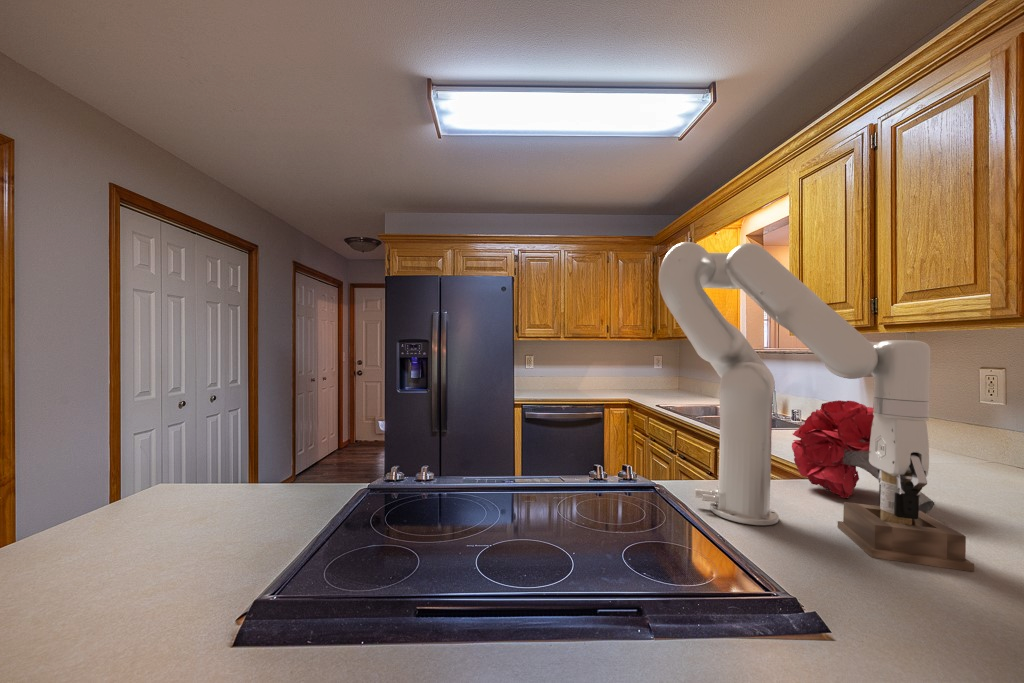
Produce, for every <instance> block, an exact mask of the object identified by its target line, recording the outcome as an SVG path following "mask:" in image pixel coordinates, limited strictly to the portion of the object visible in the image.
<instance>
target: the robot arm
mask: <svg viewBox="0 0 1024 683" xmlns="http://www.w3.org/2000/svg"><path fill="white" fill-rule="evenodd" d="M658 286H659V287H658V288H659V291H660V294H661V297H662V299H663V301H664V303H665V305H666V307H667V309H668V310H669V312H670V313H671V315H672V316H673V318H674V319H675V321H676V322H677V324H678V325H679V327H680V328H681V330H682V332H683V334H684V335H685V337H686V338H687V339H688V341H689V342H690V344H691V345H692V347H693V348H694V350H695V352H696V354H697V356H699V357H700V358H701V359H703V361H706V362H708V363H709V364H710V365H711V367H712V368H713V369H714V371H715V372H716V373H717V375H718V377H719V378H720V382H719V388H718V390H719V392H718V395H719V455H718V456H719V457H718V459H719V460H718V461H719V462H718V485H714V488H710V490H707V489H703V488H694V496H693V497H694V498H696V499H701V501H703V502H710V503H709V509H710V511H711V512H712V514H714V515H715V516H718V517H720V518H723V519H725V520H728V521H732V522H736V523H740V524H745V525H752V526H772V525H775V524H777V523H778V522H779V514H778V512H776V511H775V510H774V509H772V508H771V481H772V480H771V475H772V472H771V471H772V434H773V433H772V431H773V430H772V425H773V394H774V391H775V387H776V384H775V378H774V375H773V373H772V372H771V370H770V369H769V367H768V366H767V365H766V363H765V361H763V360H762V358H761V357H760V355H759V354H758V353H757V351H756V350H755V349H754V347H753V346H752V344H750V342H749V340H748V339H747V338H746V337H745V335H744V334H743V333H742V331H740V329H739V328H738V327H737V326H735V325H733V324H732V323H730V322H729V321H728V320H727V319H726V318H725V316H724V315H723V314H722V313H721V312H720V310H719V309H718V307H717V306H716V305H715V303H714V302H713V300H712V299H711V298H710V296H709V295H708V294H707V292H706V291H705V289H725V290H742V291H743V292H744V293H745V294H746V295H747V296H748V297H750V299H752V300H753V301H754V303H755V304H756V305H757V306H759V308H760V309H762V310H763V312H765V313H766V315H768V317H770V318H771V319H772V321H774V322H775V323H777V324H778V325H779V326H781V327H783V328H784V329H786V330H787V331H789V332H790V333H791V334H792V335H793V336H794V337H795V338H797V339H798V340H799V341H800V342H801V343H802V344H803V345H804V346H805V347H806V348H808V350H809V351H811V352H812V354H813V355H815V356H816V357H817V358H818V359H819V360H820V361H821V362H822V363H823V364H824V366H825V367H826V369H827V370H828V371H829V372H830V373H831V374H832V375H835V376H837V377H840V378H842V379H849V380H856V379H860V378H867V377H868V378H872V377H873V400H872V408H873V415H874V418H873V423H872V428H871V436H870V447H869V462H870V464H871V465H872V466H874V467H875V468H877V469H878V473H879V479H877V481H878V483H879V485H878V486H879V487H878V489H879V490H878V491H879V492H878V506H880V498H881V474H882V473H881V471H883V472H886V473H888V474H890V475H892V476H896V480H897V490H898V493H895V502H894V515H895V516H897V517H901V518H909V519H918V514H919V497H920V495H921V492H922V490H923V488H924V487H925V486H927V485H928V478H927V477H928V476H929V469H930V445H929V444H930V443H929V433H928V432H929V431H928V425H927V421H928V422H929V421H930V395H931V394H930V392H931V390H930V388H931V385H930V384H931V383H930V382H931V347H930V345H929V344H928V343H927V342H924V341H921V340H911V339H909V340H908V339H902V340H901V339H889V340H888V339H887V340H882V341H879V342H878V341H869V340H868V339H867V338H866V337H865V336H864V335H863V334H862V333H860V331H859V330H857V329H856V328H855V327H854V326H853V325H852V324H850V323H849V322H848V321H847V320H846V319H844V318H843V317H842V315H840V314H839V313H838V312H837V311H835V310H834V309H833V308H832V307H830V306H829V305H828V304H827V303H826V302H825V301H824V300H822V298H820V297H819V295H817V294H816V293H815V292H814V291H813V290H811V289H810V288H809V287H808V286H807V285H806V284H804V283H803V282H802V281H801V280H800V279H799V278H798V277H797V276H795V275H794V274H793V273H792V272H791V271H790V270H789V269H788V268H787V267H785V266H784V264H782V263H781V262H780V261H779V260H778V259H776V258H775V257H774V256H773V255H772V254H771V253H770V252H768V251H767V249H765V248H764V247H763V246H760V245H758V244H757V243H753V242H752V243H751V242H748V243H742V244H740V245H737V246H736V247H734V248H733V249H732V250H731V251H730V252H708V250H706V249H705V247H703V246H702V245H700V244H698V243H695V242H691V241H684V242H680V243H677V244H675V245H674V246H672V247H671V248H670V249H669V250H668V252H667V253H666V254H665V256H664V257H663V260H662V262H661V264H660V267H659V271H658ZM905 472H907V473H912V476H902V474H903V475H904V474H905ZM904 479H905V480H911V481H907V482H906V484H905V485H904Z"/></svg>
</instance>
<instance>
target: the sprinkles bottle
mask: <svg viewBox="0 0 1024 683" xmlns="http://www.w3.org/2000/svg"><path fill="white" fill-rule="evenodd" d="M881 473H882V474H881V498H880V505H879V506H880V508H881V518H880V519H881V520H883V521H884V522H890V523H898V524H906V525H912V519H909V518H901V517H897V516H895V515H894V502H895V493H898V490H897V480H896V476H892V475H890V474H888V473H886V472H883V471H881ZM902 476H912V473H907V472H905V474H904V475H903V474H902ZM907 481H911V480H905V479H904V485H905V484H906V482H907Z"/></svg>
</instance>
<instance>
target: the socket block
mask: <svg viewBox="0 0 1024 683" xmlns="http://www.w3.org/2000/svg"><path fill="white" fill-rule="evenodd" d="M880 518H881V508H880V505H874V504H873V505H872V504H866V503H865V504H864V503H855V502H847V501H843V520H841V521H840V520H838V521H837V528H838V529H839V530H840V531H841V532H843V533H844V535H846V536H847V538H849V539H850V540H851V541H852V542H853V543H855V544H856V545H857V546H858V547H859V548H860V549H862V551H864V552H865V553H866V554H867V555H868V556H869V557H871V558H875V559H881V560H890V561H894V562H895V561H896V562H903V563H910V564H915V565H917V564H918V565H922V566H923V565H924V566H931V567H936V568H937V567H938V568H945V569H951V570H958V571H966V572H972V573H974V572H975V564H974V563H973V562H971V561H970V560H968V559H966V556H967V555H966V554H967V553H966V549H967V548H966V546H967V536H966V535H965V534H963V533H961V532H959V531H958V530H955V529H953V528H952V527H950V526H948V525H947V524H945V523H943V522H941V521H939V520H938V519H936V518H934V517H933V516H930V515H929V514H928V513H926V514H925V513H923V512H922V511H919V514H918V519H912V525H906V524H898V523H890V522H884V521H883V520H881V519H880Z"/></svg>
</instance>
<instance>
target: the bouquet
mask: <svg viewBox="0 0 1024 683" xmlns="http://www.w3.org/2000/svg"><path fill="white" fill-rule="evenodd" d="M873 418H874V415H873V407H870V406H866V405H865V404H862V403H860V402H857V401H854V400H846V401H845V400H834V401H828V402H827V401H826V402H824V403H821V404H820V409H815V411H812V412H810V415H809V416H807V418H806V419H805V421H804V423H803V424H802V425H800V426H799V428H798V429H796V430H794V432H793V433H792V435H793V436H794V437H796V438H799V439H793V440H792V441H793V442H792V443H791V449H792V452H793V457H794V458H793V461H794V464H795V465H796V468H797V470H798V473H799V474H800V476H802V477H805V478H807V479H808V481H809V483H811V485H815V486H818V485H819V486H820V487H822V488H824V489H826V490H828V491H830V493H833V494H836V495H839V496H840V497H841V498H844V499H847V498H850V497H851V495H853V494H854V489H855V487H856V486H857V483H858V481H860V476H859V472H858V470H857V468H860V469H862V470H864V471H866V472H868V473H869V474H870V475H871V476H873V477H874V478H875V479H876V480H878V479H879V473H878V469H877V468H875V467H874V466H872V465H871V464H870V462H869V447H870V436H871V428H872V423H873ZM920 492H921V495H920V497H919V511H922V512H923V513H925V514H928V513H929V512H930V511H932V509H933V508H934V506H935V502H934V501H933V500H932V499H931V498H930V497H928V496H927V495H926V494H925V493H923V492H922V491H920Z"/></svg>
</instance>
